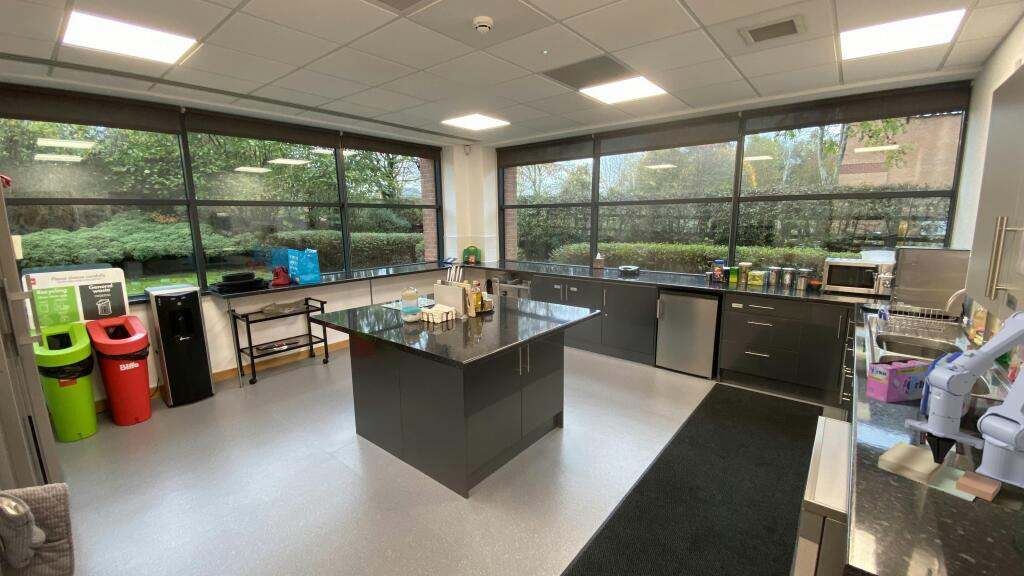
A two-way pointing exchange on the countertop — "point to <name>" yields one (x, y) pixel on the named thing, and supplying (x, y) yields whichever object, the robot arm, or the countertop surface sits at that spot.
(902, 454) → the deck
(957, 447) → the chocolate bar
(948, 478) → the mat
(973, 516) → the countertop surface
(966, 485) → the tile
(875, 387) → the gum box
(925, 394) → the lunch box
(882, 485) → the countertop surface
